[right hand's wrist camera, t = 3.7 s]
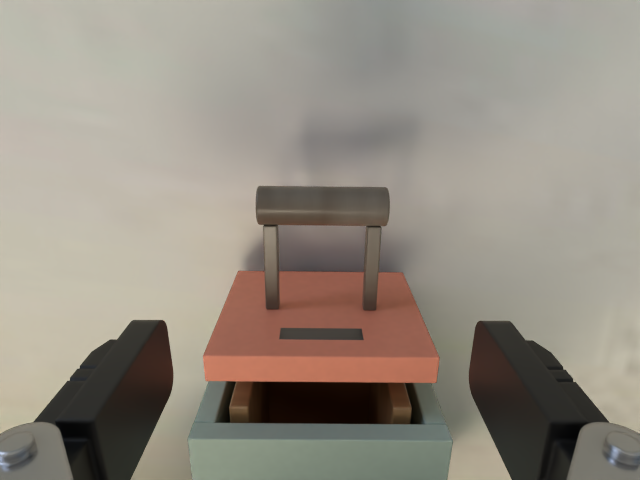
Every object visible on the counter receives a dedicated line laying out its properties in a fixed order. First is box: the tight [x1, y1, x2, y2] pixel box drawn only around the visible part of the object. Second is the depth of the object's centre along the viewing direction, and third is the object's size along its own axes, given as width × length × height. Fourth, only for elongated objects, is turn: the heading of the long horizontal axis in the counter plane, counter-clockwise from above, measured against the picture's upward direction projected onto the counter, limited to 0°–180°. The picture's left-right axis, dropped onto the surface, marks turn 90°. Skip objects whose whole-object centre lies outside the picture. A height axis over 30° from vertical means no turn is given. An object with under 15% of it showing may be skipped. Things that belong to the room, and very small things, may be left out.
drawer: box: [203, 186, 439, 424], centre depth 21 cm, size 18×9×8 cm, turn 179°
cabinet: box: [188, 381, 453, 480], centre depth 24 cm, size 13×10×10 cm
